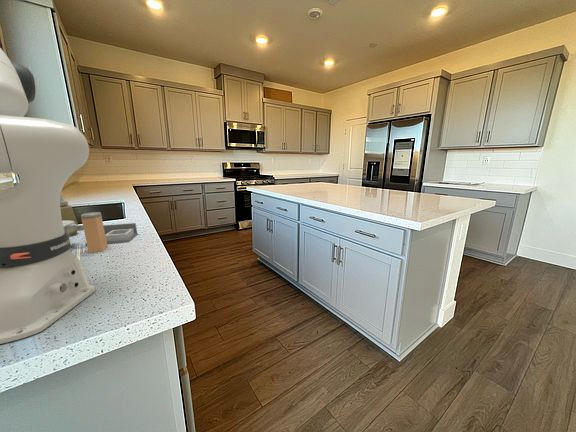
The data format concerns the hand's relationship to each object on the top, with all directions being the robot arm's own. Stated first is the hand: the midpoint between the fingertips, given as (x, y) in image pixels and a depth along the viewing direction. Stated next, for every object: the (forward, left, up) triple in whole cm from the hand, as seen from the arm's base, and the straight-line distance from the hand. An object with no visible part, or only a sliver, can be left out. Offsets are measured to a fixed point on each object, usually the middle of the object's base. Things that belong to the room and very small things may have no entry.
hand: (76, 231), depth 80 cm
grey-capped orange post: (0, -5, -7) cm, 9 cm away
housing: (+11, -5, -7) cm, 14 cm away
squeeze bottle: (+24, +16, -8) cm, 30 cm away
